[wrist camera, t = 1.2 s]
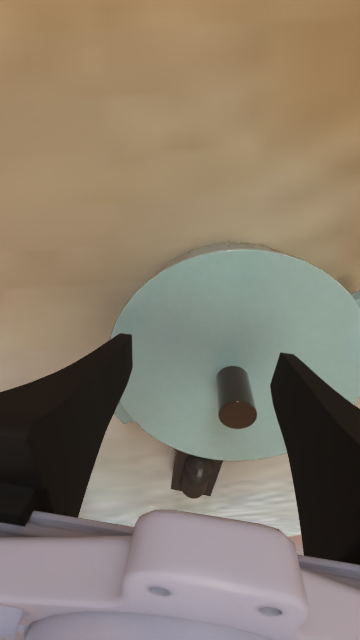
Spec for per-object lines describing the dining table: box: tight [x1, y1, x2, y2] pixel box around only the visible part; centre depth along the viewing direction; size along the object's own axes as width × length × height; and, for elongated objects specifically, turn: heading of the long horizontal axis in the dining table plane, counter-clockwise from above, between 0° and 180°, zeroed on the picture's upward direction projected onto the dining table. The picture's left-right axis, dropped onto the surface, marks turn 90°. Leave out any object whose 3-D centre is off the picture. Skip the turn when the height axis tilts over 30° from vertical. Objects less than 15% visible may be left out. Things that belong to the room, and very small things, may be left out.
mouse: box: [171, 450, 223, 498], centre depth 29 cm, size 8×5×4 cm, turn 171°
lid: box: [110, 248, 360, 461], centre depth 18 cm, size 19×19×5 cm
